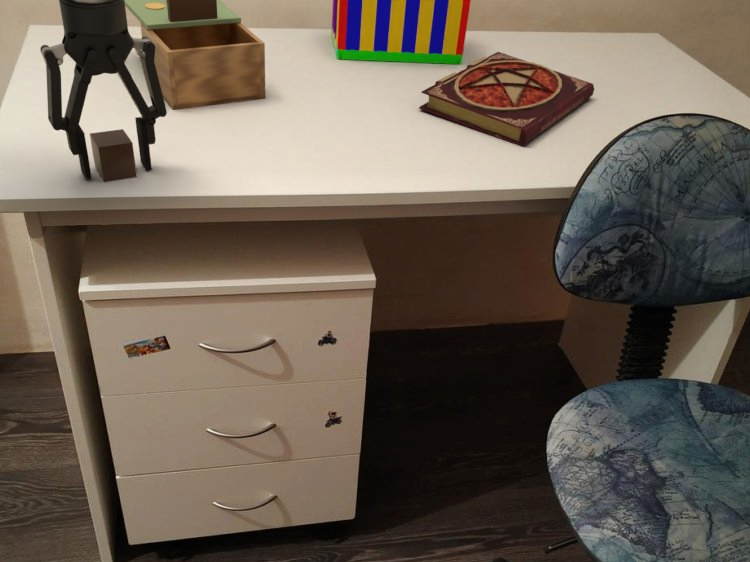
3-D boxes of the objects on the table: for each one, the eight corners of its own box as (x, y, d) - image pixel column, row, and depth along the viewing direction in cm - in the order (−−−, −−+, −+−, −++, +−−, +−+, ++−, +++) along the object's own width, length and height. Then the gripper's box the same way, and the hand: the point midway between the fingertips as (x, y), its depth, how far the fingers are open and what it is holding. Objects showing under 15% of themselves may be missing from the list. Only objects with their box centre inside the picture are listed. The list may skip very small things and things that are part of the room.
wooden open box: (172, 109, 129) (167, 52, 123) (146, 77, 137) (140, 22, 132) (265, 98, 135) (264, 43, 130) (234, 68, 144) (232, 15, 138)
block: (103, 181, 109) (98, 147, 106) (95, 167, 112) (89, 133, 109) (136, 176, 111) (132, 142, 108) (127, 162, 114) (122, 128, 111)
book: (524, 150, 130) (531, 120, 127) (414, 109, 137) (418, 80, 134) (590, 101, 149) (598, 74, 146) (491, 67, 156) (496, 41, 153)
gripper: (6, 9, 90) (46, 194, 105) (184, -2, 98) (197, 170, 113) (-6, -11, 94) (33, 169, 109) (164, -20, 103) (179, 148, 118)
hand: (116, 170), depth 111 cm, fingers open, 7 cm apart
